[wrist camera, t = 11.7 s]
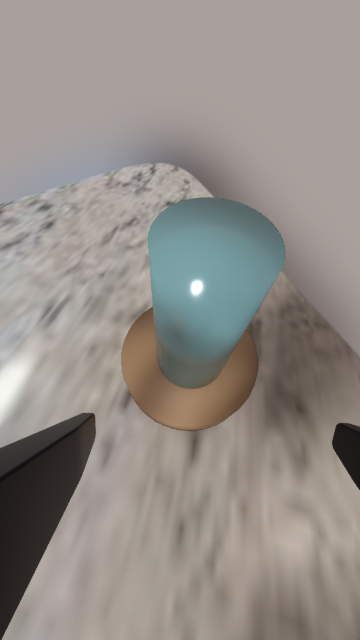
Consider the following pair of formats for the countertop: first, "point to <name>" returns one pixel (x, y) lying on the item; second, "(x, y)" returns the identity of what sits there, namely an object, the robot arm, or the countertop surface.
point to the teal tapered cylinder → (208, 283)
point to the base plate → (177, 402)
